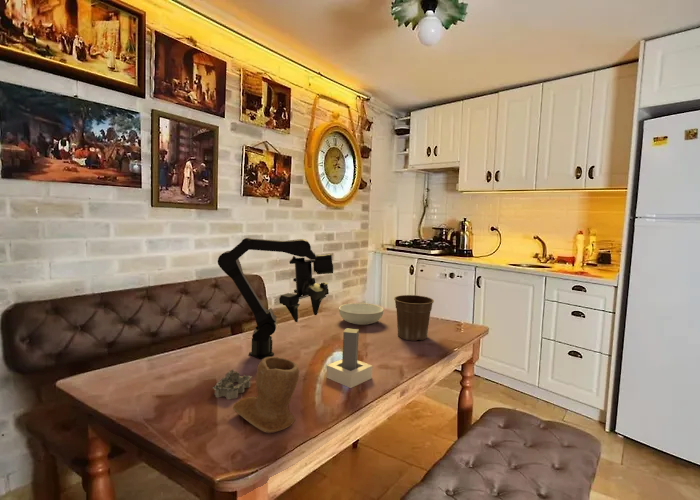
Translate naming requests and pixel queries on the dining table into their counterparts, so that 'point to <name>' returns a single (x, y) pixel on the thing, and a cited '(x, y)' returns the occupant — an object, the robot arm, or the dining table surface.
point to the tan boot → (271, 395)
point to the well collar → (349, 373)
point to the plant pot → (413, 316)
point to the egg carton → (231, 385)
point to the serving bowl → (361, 313)
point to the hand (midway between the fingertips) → (306, 318)
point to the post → (350, 349)
